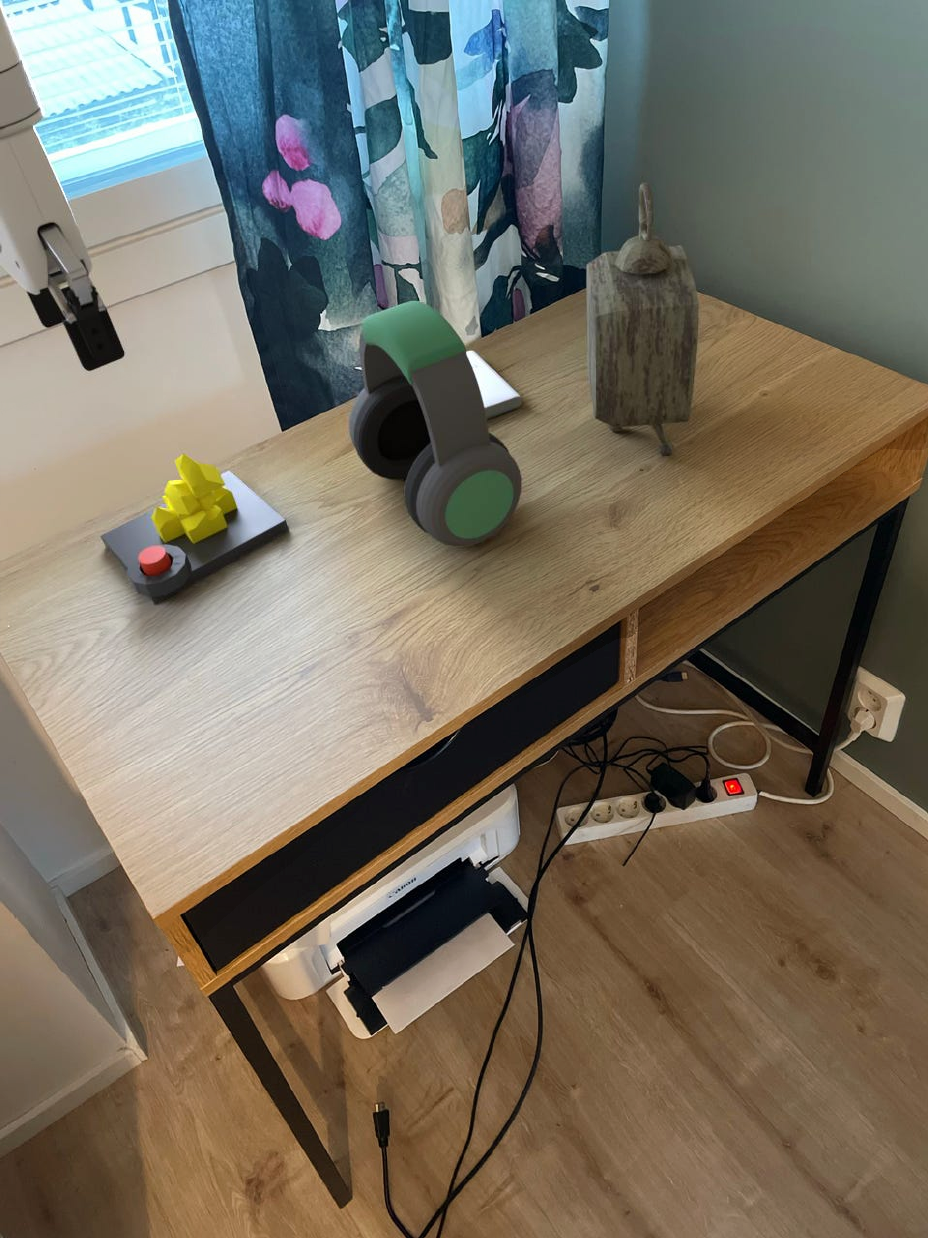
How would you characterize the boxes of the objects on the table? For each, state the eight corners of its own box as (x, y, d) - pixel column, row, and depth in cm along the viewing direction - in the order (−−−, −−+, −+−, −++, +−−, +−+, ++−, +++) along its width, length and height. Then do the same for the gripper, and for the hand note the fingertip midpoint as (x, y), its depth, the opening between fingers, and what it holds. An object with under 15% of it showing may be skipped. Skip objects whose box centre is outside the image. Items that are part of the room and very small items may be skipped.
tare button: (151, 580, 83) (145, 568, 82) (139, 566, 85) (133, 554, 84) (176, 566, 84) (170, 554, 83) (164, 553, 86) (158, 541, 85)
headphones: (352, 474, 96) (309, 296, 82) (441, 437, 99) (415, 260, 85) (434, 573, 84) (401, 385, 69) (534, 528, 87) (521, 338, 72)
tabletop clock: (686, 465, 91) (709, 215, 73) (596, 472, 92) (597, 226, 74) (667, 388, 101) (682, 152, 83) (586, 394, 102) (584, 162, 84)
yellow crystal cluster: (151, 524, 91) (122, 462, 85) (222, 491, 94) (198, 428, 88) (173, 553, 87) (145, 490, 82) (246, 517, 90) (224, 453, 85)
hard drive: (456, 430, 100) (413, 380, 108) (522, 407, 101) (475, 359, 110) (455, 418, 98) (411, 368, 107) (521, 394, 100) (473, 347, 108)
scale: (153, 615, 84) (141, 593, 81) (98, 549, 91) (86, 527, 89) (295, 536, 90) (288, 512, 87) (233, 480, 97) (224, 457, 95)
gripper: (-110, 95, 63) (5, 322, 75) (-46, 147, 52) (75, 401, 64) (-4, 66, 65) (90, 290, 78) (76, 110, 55) (170, 361, 67)
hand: (83, 341), depth 71 cm, fingers open, 9 cm apart
